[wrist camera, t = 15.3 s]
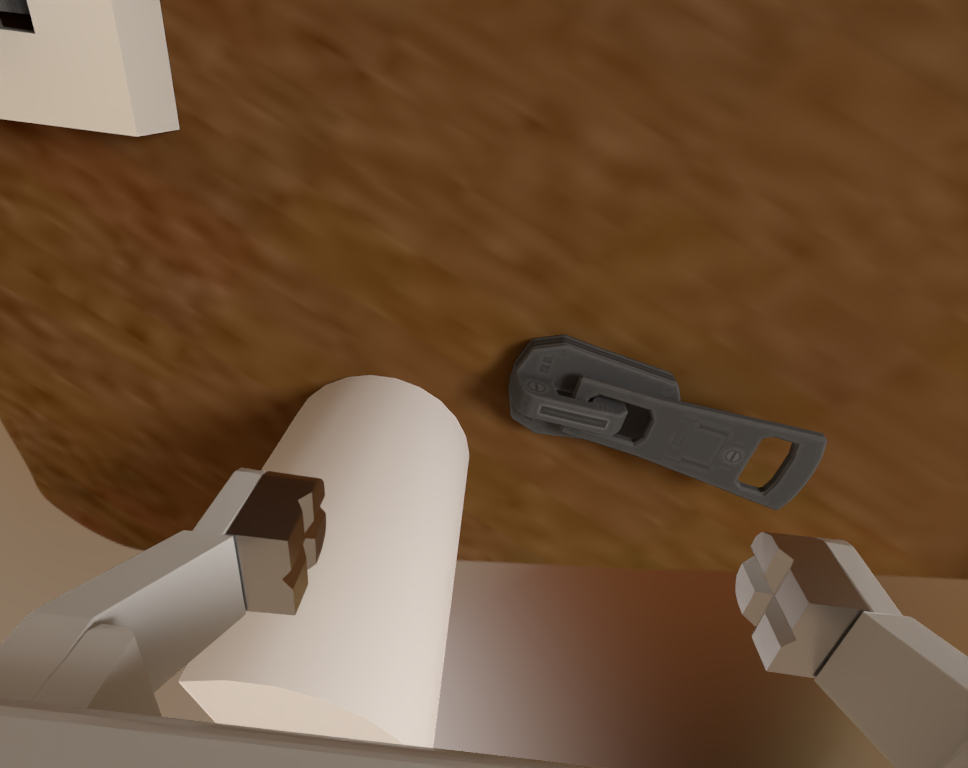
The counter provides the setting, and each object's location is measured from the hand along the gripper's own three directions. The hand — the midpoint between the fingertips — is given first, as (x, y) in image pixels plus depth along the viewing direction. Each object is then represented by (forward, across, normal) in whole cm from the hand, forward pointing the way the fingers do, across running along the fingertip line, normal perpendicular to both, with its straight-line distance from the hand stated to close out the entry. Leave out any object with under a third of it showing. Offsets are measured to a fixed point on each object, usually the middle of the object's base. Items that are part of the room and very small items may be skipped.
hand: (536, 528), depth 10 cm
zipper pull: (+34, -14, +17) cm, 41 cm away
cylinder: (+34, +10, +26) cm, 44 cm away
